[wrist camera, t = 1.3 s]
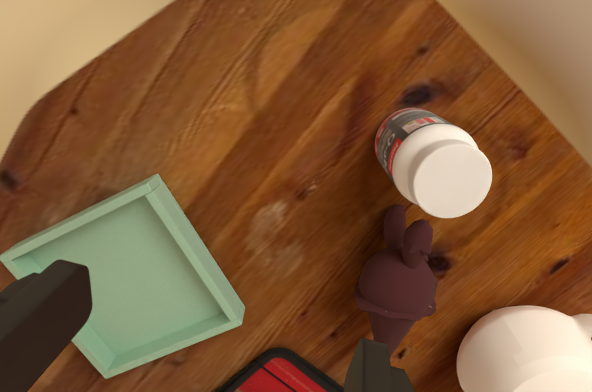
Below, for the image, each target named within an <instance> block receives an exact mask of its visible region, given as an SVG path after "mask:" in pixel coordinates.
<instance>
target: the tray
mask: <svg viewBox="0 0 592 392" xmlns="http://www.w3.org/2000/svg"><path fill="white" fill-rule="evenodd" d="M59 259H62V260H66V261H70V262H73V263H77V264H81V265H85V266H87V267H88V269H89V275H90V284H91V293H92V302H93V306H92V311H91V314H90V316H89V319H88V320H87V322H86V324H85V325H84V326H83V327H82V328H81V330H80V331H79V332H78V333H77V334H76V335H75V337H74V338H73V339H72V340H71V341H72V342H73V343H74V344H75V345H76V346H77V348H78V349H79V350H80V351H81V352H82V353H83V354H84V355H85V357H86V358H87V359H88V360H89V361H90V362H91V363H92V364H93V366H94V367H95V368H96V369H97V370H98V371H99V372H100V373H101V374H102V376H103V377H104V378H105V379H107V378H110V377H112V376H115V375H117V374H120V373H122V372H125V371H127V370H130V369H132V368H135V367H137V366H140V365H142V364H145V363H147V362H150V361H152V360H155V359H157V358H160V357H162V356H165V355H167V354H170V353H173V352H175V351H178V350H180V349H183V348H185V347H188V346H190V345H193V344H195V343H198V342H200V341H203V340H205V339H208V338H210V337H213V336H215V335H218V334H220V333H223V332H225V331H228V330H230V329H233V328H235V327H238V326H240V325H242V321H243V316H244V311H245V306H244V304H243V303H242V301H241V300H240V298H239V297H238V295H237V294H236V292H235V291H234V289H233V288H232V286H231V285H230V283H229V281H228V280H227V278H226V277H225V275H224V274H223V272H222V271H221V269H220V268H219V266H218V265H217V263H216V262H215V260H214V258H213V257H212V255H211V254H210V252H209V251H208V249H207V248H206V246H205V245H204V243H203V242H202V240H201V239H200V237H199V235H198V234H197V232H196V231H195V229H194V228H193V226H192V225H191V223H190V222H189V220H188V219H187V217H186V216H185V214H184V212H183V211H182V209H181V208H180V206H179V205H178V203H177V202H176V200H175V199H174V197H173V196H172V194H171V192H170V191H169V189H168V188H167V186H166V185H165V183H164V182H163V180H162V179H161V177H160V176H159V174H158V173H157V174H155V175H153V176H151V177H149V178H147V179H145V180H143V181H141V182H139V183H137V184H135V185H133V186H131V187H129V188H127V189H125V190H123V191H121V192H119V193H117V194H115V195H113V196H111V197H109V198H107V199H105V200H103V201H101V202H99V203H97V204H95V205H93V206H91V207H89V208H87V209H85V210H83V211H81V212H79V213H77V214H75V215H73V216H71V217H69V218H67V219H65V220H63V221H61V222H59V223H56V224H54V225H52V226H50V227H48V228H46V229H44V230H42V231H40V232H38V233H36V234H34V235H32V236H30V237H28V238H26V239H24V240H22V241H20V242H18V243H17V244H15V245H14V246H12V247H11V248H10V249H8V250H7V251H5V252H4V253H2V254H1V255H0V261H1V262H2V263H3V264H4V265H5V267H6V268H7V269H8V270H9V271H10V272H11V273H12V274H13V276H14V277H15V278H16V279H17V280H19V279H21V278H23V277H25V276H27V275H30V274H32V273H34V272H35V273H39V274H40V273H41V272H42V271H43V270H45V269H46V268H47V267H48V266H49V265H50V264H52V263H53V262H54V261H56V260H59Z"/></svg>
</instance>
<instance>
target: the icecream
mask: <svg viewBox="0 0 592 392" xmlns="http://www.w3.org/2000/svg"><path fill="white" fill-rule="evenodd" d="M405 228H406V227H405V212H404V208H403V207H402V206H401V205H393V206H391V207H390V208H389V209H388V210H387V213H386V216H385V219H384V239H385V243H386V247H387V248H384V249H382V250H380V251H379V252H377V253H376V254H375V255H373V256H372V257H370V258H369V259H368V261H367V262H366V263H365V264H364V266H363V267H362V270H361V274H360V277H359V282H358V283H357V284H356V286H355V291H354V293H353V296H354V297H355V298H356V299H357V305H358V307H359V309H361V310H363V311H365V312H369V317H370V322H371V326H372V331H373V336H374V341H377V342H381V343H385V344H388V346H389V352H390V357H391V355H392V354H393V353H394V351H395V350H396V348H397V347H398V346H399V344H400V343H401V341H402V340H403V339H404V337H405V336H406V334H407V333H408V332H409V330H410V329H411V327H412V326H413V325H414V323H415V322H416V321H417V320H420V319H421V318H422V317H424V316H429V315H432V314H434V313H435V311H436V303H435V301H434V297H435V292H436V287H437V284H438V283H437V280H436V279H435V278H434V275H433V273H432V271H431V269H430V268H429V266H428V265H427V263H426V262H427V261H428V255H429V254H430V253H431V251H432V246H431V242H432V237H433V229H432V227H431V226H430V224H429V222H428V221H426V220H423V219H421V220H418V221H414V222H413V223H412V224H411V225H410V226H409V227H408V228H406V230H405ZM402 244H403V246H402ZM401 246H402V247H401Z"/></svg>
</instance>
